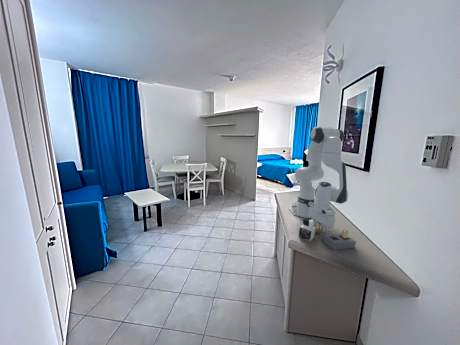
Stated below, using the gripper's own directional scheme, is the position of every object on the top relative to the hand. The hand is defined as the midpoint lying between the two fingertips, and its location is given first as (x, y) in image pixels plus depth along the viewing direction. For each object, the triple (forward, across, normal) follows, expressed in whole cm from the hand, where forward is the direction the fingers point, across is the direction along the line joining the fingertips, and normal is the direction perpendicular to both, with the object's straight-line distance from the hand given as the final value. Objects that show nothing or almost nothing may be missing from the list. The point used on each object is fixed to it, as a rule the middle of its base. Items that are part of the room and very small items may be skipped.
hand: (319, 228), depth 130 cm
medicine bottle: (+4, +3, -11) cm, 12 cm away
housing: (+4, +13, +3) cm, 14 cm away
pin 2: (+4, +13, +7) cm, 15 cm away
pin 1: (+4, 0, 0) cm, 4 cm away
